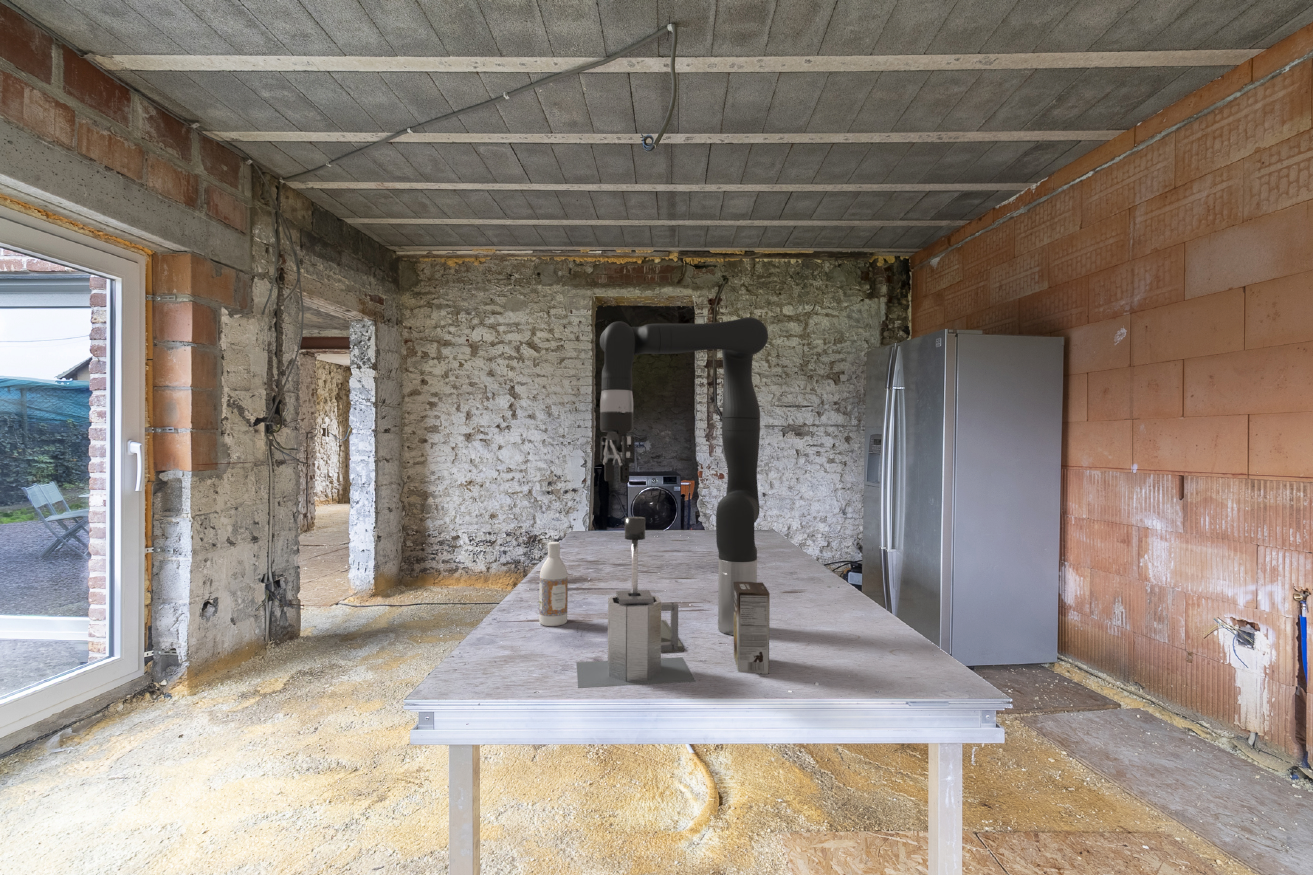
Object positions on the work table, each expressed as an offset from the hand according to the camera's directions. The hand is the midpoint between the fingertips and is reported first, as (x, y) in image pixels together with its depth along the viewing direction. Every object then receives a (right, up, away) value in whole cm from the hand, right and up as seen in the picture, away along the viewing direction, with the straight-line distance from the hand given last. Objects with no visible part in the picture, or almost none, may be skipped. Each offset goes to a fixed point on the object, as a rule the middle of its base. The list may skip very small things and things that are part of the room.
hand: (616, 481), depth 139 cm
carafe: (+6, -36, -19) cm, 41 cm away
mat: (+5, -36, -20) cm, 41 cm away
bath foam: (-17, -36, +13) cm, 42 cm away
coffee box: (+28, -37, -15) cm, 49 cm away
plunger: (+5, -27, -20) cm, 34 cm away
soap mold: (+9, -37, +1) cm, 38 cm away
